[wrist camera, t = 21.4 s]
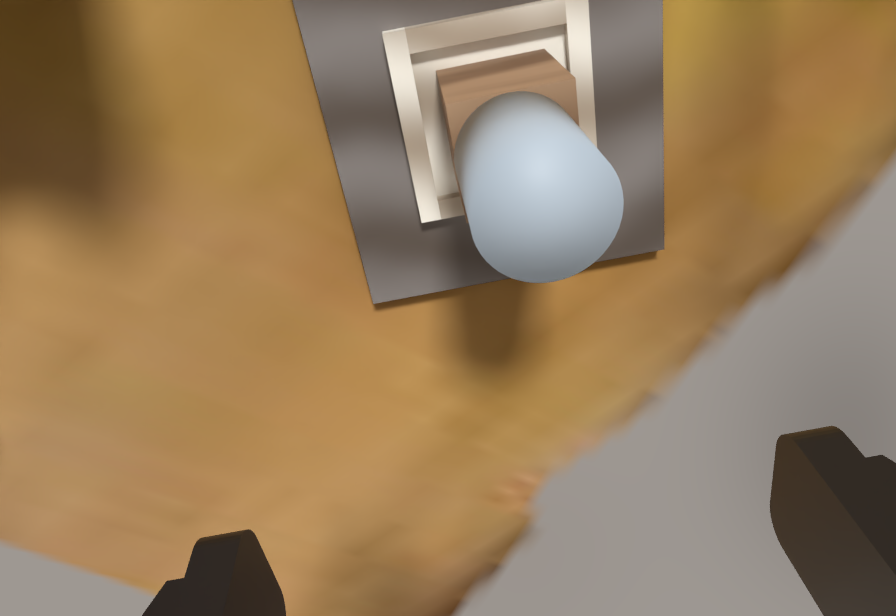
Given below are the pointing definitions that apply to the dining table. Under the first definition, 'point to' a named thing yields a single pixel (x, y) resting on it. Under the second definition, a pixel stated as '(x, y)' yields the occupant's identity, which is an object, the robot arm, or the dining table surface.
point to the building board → (424, 130)
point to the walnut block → (502, 88)
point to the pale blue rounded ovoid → (535, 188)
